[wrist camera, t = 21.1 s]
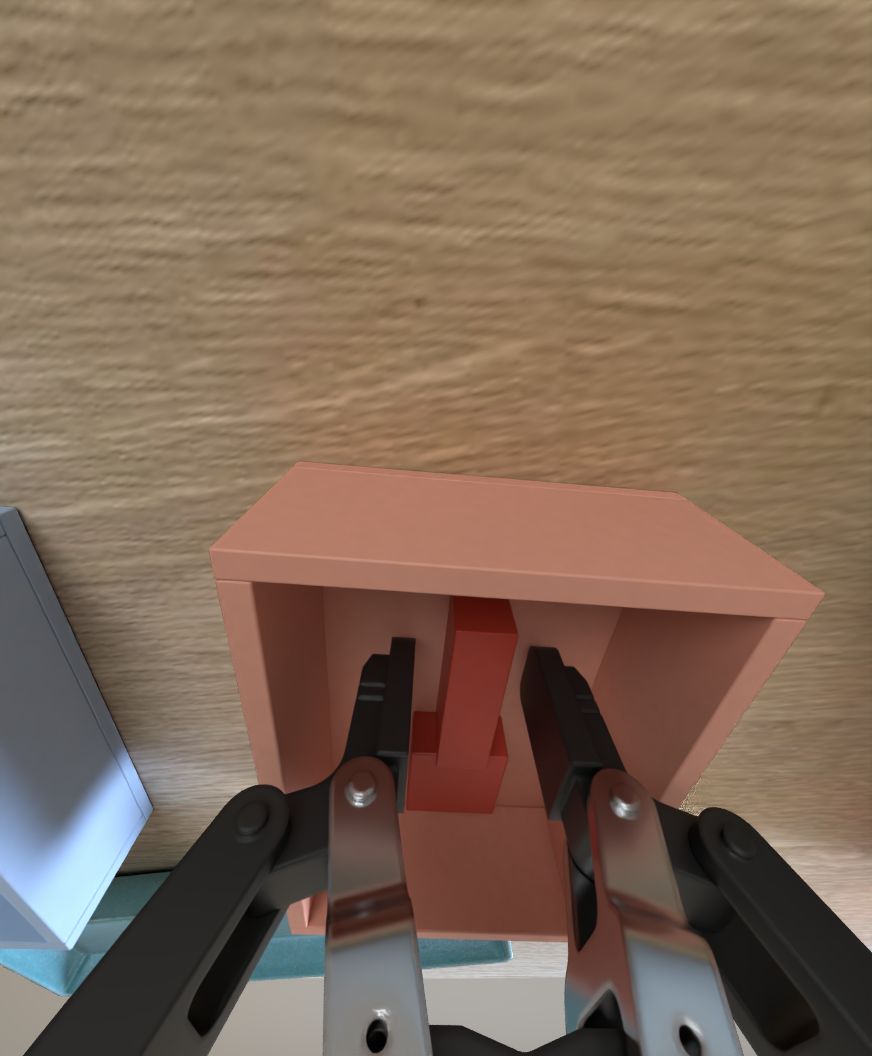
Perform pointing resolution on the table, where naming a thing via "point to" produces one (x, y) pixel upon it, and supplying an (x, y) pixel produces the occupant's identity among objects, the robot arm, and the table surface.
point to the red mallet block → (465, 713)
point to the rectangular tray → (277, 962)
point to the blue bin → (54, 764)
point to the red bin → (542, 620)
